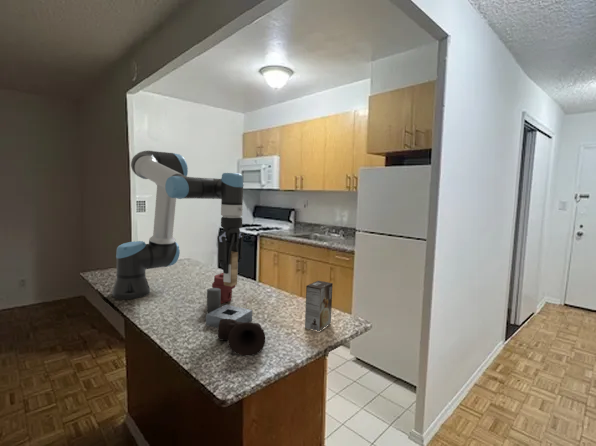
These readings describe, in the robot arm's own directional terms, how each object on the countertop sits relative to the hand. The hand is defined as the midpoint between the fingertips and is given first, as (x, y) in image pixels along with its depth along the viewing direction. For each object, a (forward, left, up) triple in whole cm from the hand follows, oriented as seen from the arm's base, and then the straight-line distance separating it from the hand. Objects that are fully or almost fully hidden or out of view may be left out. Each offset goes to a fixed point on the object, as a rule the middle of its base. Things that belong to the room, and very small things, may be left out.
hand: (230, 280), depth 122 cm
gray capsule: (-12, +6, -16) cm, 21 cm away
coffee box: (+30, +13, -16) cm, 37 cm away
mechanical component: (-16, +18, -16) cm, 29 cm away
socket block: (0, 0, -16) cm, 16 cm away
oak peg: (0, 0, -2) cm, 2 cm away
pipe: (+13, -12, -16) cm, 24 cm away
